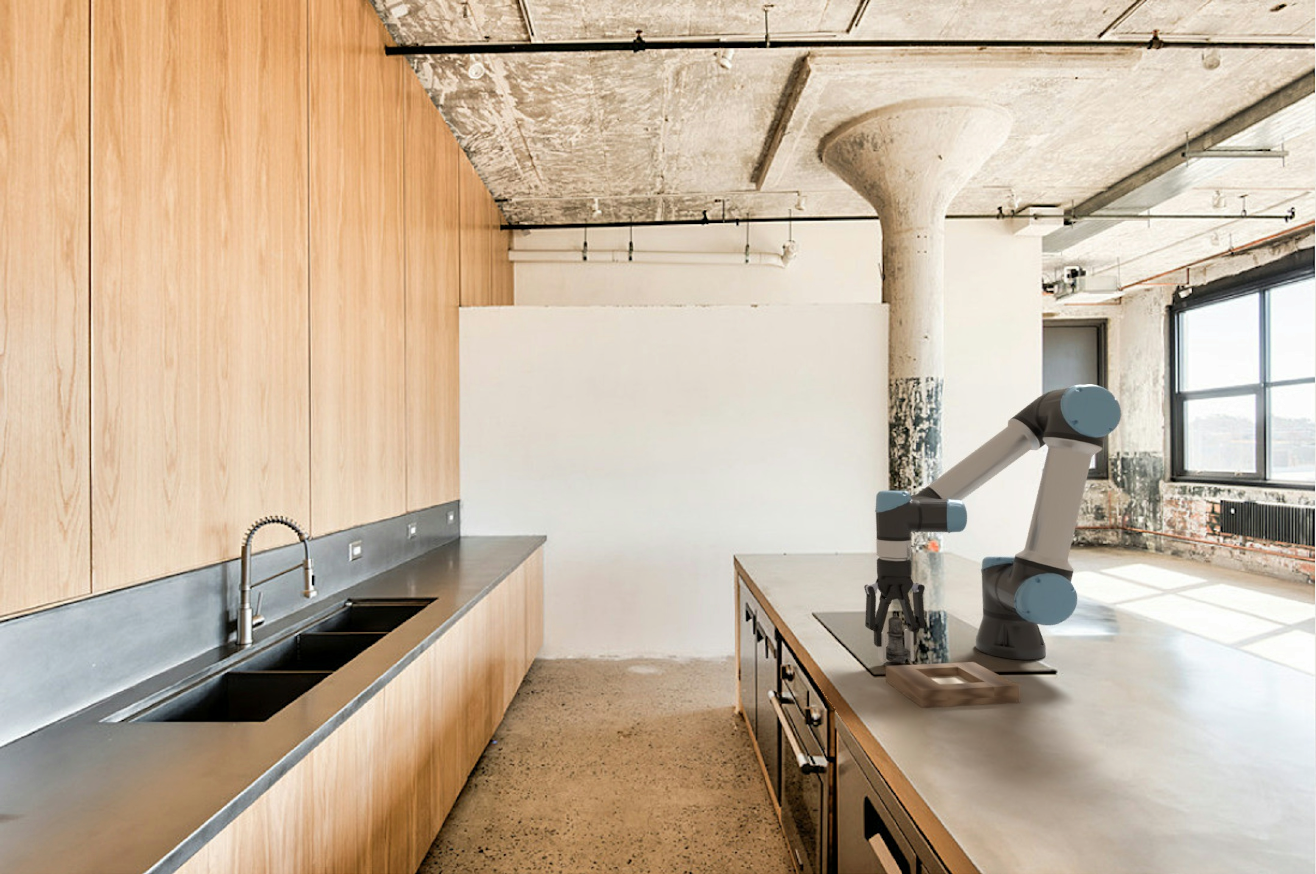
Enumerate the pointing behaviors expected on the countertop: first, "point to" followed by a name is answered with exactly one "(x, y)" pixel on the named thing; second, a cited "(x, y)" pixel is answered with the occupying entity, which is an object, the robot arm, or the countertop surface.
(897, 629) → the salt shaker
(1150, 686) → the countertop surface
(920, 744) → the countertop surface
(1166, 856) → the countertop surface
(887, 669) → the wooden frame
